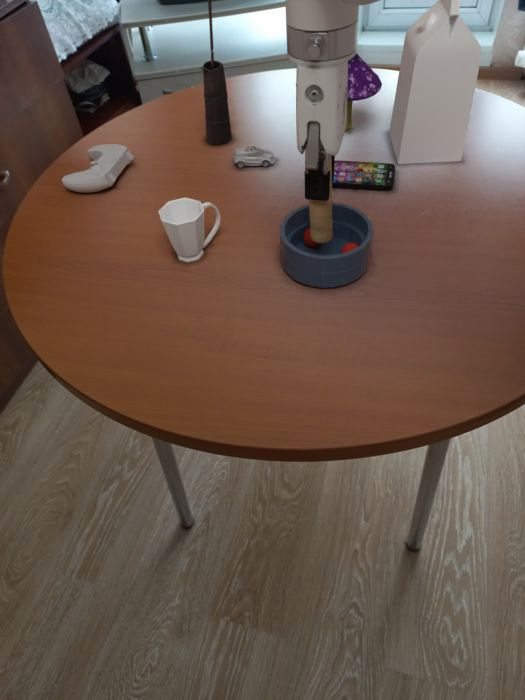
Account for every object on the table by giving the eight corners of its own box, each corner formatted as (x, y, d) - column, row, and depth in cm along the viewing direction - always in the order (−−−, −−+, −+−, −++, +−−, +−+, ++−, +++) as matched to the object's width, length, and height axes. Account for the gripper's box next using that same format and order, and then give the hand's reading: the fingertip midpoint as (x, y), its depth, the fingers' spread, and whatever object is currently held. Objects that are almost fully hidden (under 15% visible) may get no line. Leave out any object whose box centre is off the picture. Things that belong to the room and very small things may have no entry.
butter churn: (211, 158, 101) (186, -9, 80) (185, 141, 107) (155, -20, 85) (248, 142, 105) (234, -23, 84) (221, 126, 110) (201, -33, 89)
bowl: (348, 226, 84) (350, 194, 80) (384, 277, 76) (389, 244, 71) (270, 245, 83) (268, 213, 78) (298, 299, 74) (297, 267, 70)
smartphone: (393, 187, 89) (307, 181, 92) (392, 191, 90) (307, 186, 93) (395, 163, 94) (314, 158, 97) (395, 168, 95) (314, 163, 98)
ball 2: (351, 270, 77) (364, 258, 78) (352, 258, 75) (366, 246, 75) (336, 259, 78) (349, 247, 79) (337, 247, 76) (350, 235, 76)
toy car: (275, 167, 98) (274, 152, 96) (233, 168, 98) (231, 154, 96) (275, 157, 100) (275, 142, 98) (234, 158, 101) (233, 144, 99)
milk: (461, 161, 95) (501, -4, 76) (398, 164, 96) (421, 1, 76) (447, 129, 103) (480, -27, 83) (389, 132, 104) (408, -22, 84)
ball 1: (322, 238, 82) (321, 222, 80) (323, 249, 80) (323, 233, 78) (303, 240, 82) (302, 224, 80) (304, 251, 80) (303, 235, 78)
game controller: (89, 140, 103) (131, 133, 99) (100, 161, 106) (141, 154, 102) (53, 179, 94) (98, 173, 90) (66, 200, 97) (110, 195, 93)
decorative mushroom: (376, 115, 109) (384, 36, 98) (378, 145, 101) (387, 63, 89) (316, 116, 110) (318, 38, 99) (314, 145, 102) (315, 64, 91)
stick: (328, 227, 76) (326, 143, 66) (336, 239, 74) (334, 154, 64) (307, 233, 76) (302, 149, 66) (314, 245, 74) (310, 160, 64)
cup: (160, 253, 83) (148, 210, 77) (209, 226, 87) (202, 183, 81) (185, 274, 79) (175, 230, 73) (235, 245, 83) (229, 201, 77)
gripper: (346, 70, 50) (339, 229, 63) (364, 13, 60) (354, 161, 74) (270, 69, 51) (279, 224, 65) (301, 14, 61) (302, 158, 75)
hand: (319, 189), depth 69 cm, fingers closed on stick, 3 cm apart
